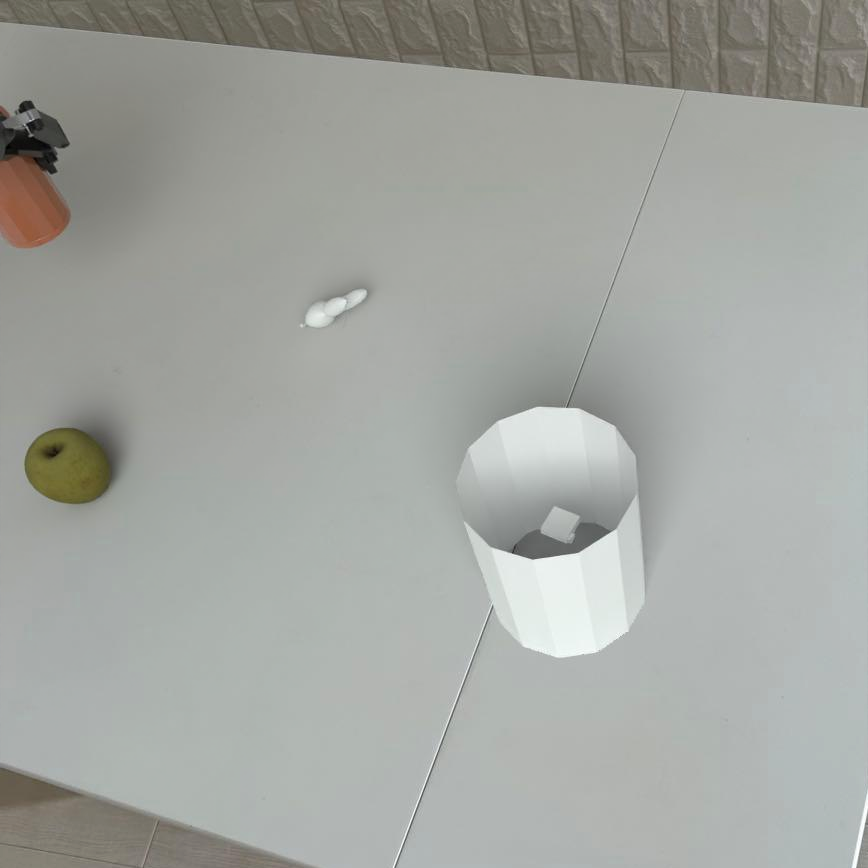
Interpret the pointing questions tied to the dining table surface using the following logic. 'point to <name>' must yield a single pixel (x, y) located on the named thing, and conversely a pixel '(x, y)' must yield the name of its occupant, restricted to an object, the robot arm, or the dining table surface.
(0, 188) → the cup
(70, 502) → the apple
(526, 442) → the container
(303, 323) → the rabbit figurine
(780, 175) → the dining table surface
